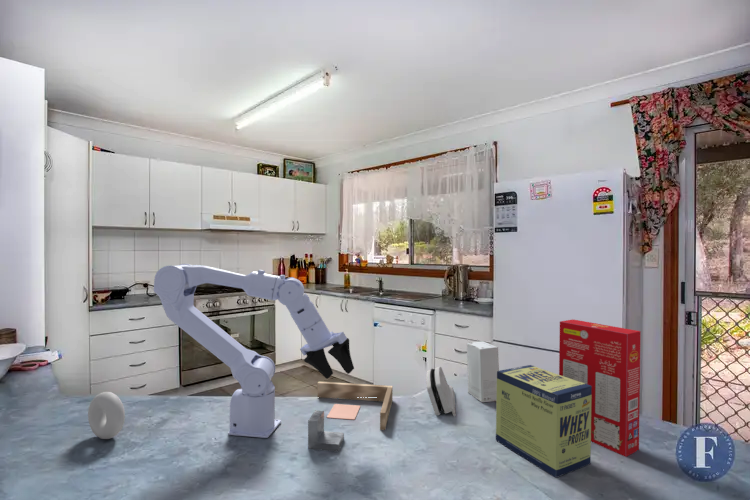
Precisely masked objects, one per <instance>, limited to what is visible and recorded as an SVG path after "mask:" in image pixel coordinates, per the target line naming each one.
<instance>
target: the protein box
mask: <svg viewBox="0 0 750 500" xmlns="http://www.w3.org/2000/svg"><path fill="white" fill-rule="evenodd" d="M591 398H592V386H591V385H588V384H585V383H582V382H579V381H576V380H573V379H570V378H567V377H564V376H561V375H559V373H555V372H553V371H552V372H551V371H548V370H546V369H543V368H540V367H538V366H535V365H532V364H527V365H522V366H517V367H512V368H507V369H506V368H505V369H501V370H500V369H499V371H497V401H495V402H496V404H495V405H496V411H495V412H496V415H495V418H496V419H495V440H496V441H497V442H498V443H499V444H501V445H503V446H504V447H506V448H508V449H509V450H511V451H512V452H514V453H516V454H517V455H519V456H520V457H522V458H523V459H525V460H527V461H528V462H530V463H531V464H533V465H534V466H536V467H538V468H540V469H541V470H543V471H544V472H546V473H548V474H549V475H550V476H552V477H554V478H558V477H561V476H563V475H567V474H569V473H571V472H573V471H576V470H578V469H580V468H583V467H586V466H588V465H591V463H592V462H591V451H592V450H591V447H592V446H591V445H592V443H591Z"/></svg>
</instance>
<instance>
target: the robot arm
mask: <svg viewBox="0 0 750 500" xmlns="http://www.w3.org/2000/svg"><path fill="white" fill-rule="evenodd" d="M153 281H154V282H153V293H155V294H156V295H157V296H158V298H159V300H160V303H161V305H162V308H163V310H164V313H165V315H166V317H167V318H168V319H169V320H170V321H171V322H172V323H173V324H175V325H176V326H178V328H180V329H182V330H183V331H184V332H185V333H186V334H187V335H189V336H190V337H191V338H193V340H195V341H196V342H197V343H198V344H199V345H201V346H203V347H204V348H205V349H206V350H207V351H209V352H210V353H212V355H214V356H215V357H217V358H218V360H220V361H221V362H222V363H224V364H225V366H227V367H229V368H230V371H231V374H232V377H233V379H235V380H236V381H237V382H238V383H239V385H240V388H238V389H236V390H235V391H234V392H233V394H232V395H231V398H230V403H229V430H228V432H227V435H228V436H238V437H250V438H251V437H252V438H262V439H267V438H269V437H270V436H271V435H272V433H273V432H275V430H276V429H277V428H278V427H279V425H280V424H281V423H282V420H281V419H275V418H276V417H275V416H276V415H275V414H276V413H275V412H276V410H275V409H276V408H275V407H276V406H275V404H276V400H275V399H276V395H275V394H276V392H275V390H276V389H275V388H276V387H275V384H274V383H273V381H272V378H273V377H274V375H275V373H276V365H275V361H274V360H273V359H272V358H270V357H268V356H266V355H265V356H264V355H261V354H259V353H258V352H256V351H255V350H251V349H249V348H246V347H245V346H243V345H242V344H241V343H240V342H238V340H236V339H235V338H234V337H232V336H231V335H230V333H229V334H228V332H226V331H225V330H224V329H223V328H221V327H220V326H219V325H218V324H216V323H215V322H214V321H213V320H211V319H210V317H208V316H207V315H205V314H204V313H203V312H202V311H201V310H199V309H198V308H197V307H196V306H195V305H194V304H195V303H194V302H195V299H194V298H195V292H196V289H197V287H198V286H200V285H204V284H212V285H217V286H225V287H229V288H230V287H231V288H236V289H242V290H243V291H244V293H246V296H249V297H254V298H259V299H264V300H269V301H277V300H278V302H279V303H281V304H282V305H283V306H285V307H286V309H287V310H288V312H289V315H290V316H291V319H292V321H294V323H295V326H296V327H297V329H298V330H299V331H300V333H301V335H302V337H303V338H304V340H305V342H306V343H305V344H304V345H303V346H302V347H300V348H299V350H300V352H301V354H302V356H306V357H305V358H304V359H303V361H304V362H305V363H306V364H308V365H310V366H312V367H313V368H314V369H316V370H317V371H318V372H319V373H320V374H321V375H322V376H323V377H324V378H325V379H326V380H327V379H329V378H330V377H331V376H332V375H333V374H334V372H333V369H332V367H331V365H330V363H329V362H328V359H327V356H326V352H325V349H326V348H328V347H331V348H330V349H329V350H328V351H327V353H328V354H329V355H330V356H332V357H333V358H334V359H335V360H336V361H337V362H338V364H339V365H340V366H341V368H342V370H343V371H344V372H345V373H346V374H348V375H349V374H351V373H352V371H353V370H355V367H354V363H353V360H352V356H351V351H350V349H351V348H350V338H348V337H347V336H346V334H345V333H344V331H340V332H334V331H333V330H332V331H330V329H329V328H328V326H327V325H326V323H325V321H324V319H323V317H322V316H321V315H320V313H319V312H318V310H317V307H316V306H315V304H314V303H313V302H312V301H311V299H310V297H309V295H308V294H307V292H305V287H304V284H303V282H302V281H300V279H298V278H295V277H294V276H291V277H287V278H286V275H285V274H280V275H274V274H269V273H266V271H265V270H263V269H258V270H257V271H255V270H253V271H251V272H250V273H248V274H242V273H238V272H233V271H230V270H226V269H222V268H218V267H212V266H209V265H203V264H201V265H200V264H190V263H180V264H178V265H172V264H171V265H165V266H162V267H160V268H159V270H157V271H156V273H155V276H154V280H153Z"/></svg>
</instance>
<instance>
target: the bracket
mask: <svg viewBox="0 0 750 500" xmlns="http://www.w3.org/2000/svg"><path fill="white" fill-rule="evenodd" d="M307 425H308V426H307V449H308V450H314V451H315V450H317V451H326V452H339V451H340V449H341V447H342V444H343V442H344V439H345V432H339V431H327V430H326V431H325V410H314V412H313V413H312V414H311V416H310V417H309V418H308V421H307Z"/></svg>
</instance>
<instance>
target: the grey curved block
mask: <svg viewBox="0 0 750 500" xmlns="http://www.w3.org/2000/svg"><path fill="white" fill-rule="evenodd" d="M425 377H426V378H425V380H426V382H425V383H426V390H427V394H428V396H429V399H430V403H431V405H432V409H433V412H434V415H435V416H441V414H442V413H444V414H448V413H451V414H452V415H453V417H456V416H457V415H456V414H457V412H456V394H455V390H454V387H453V386H452V385H450V384H448V382H447V379H446V375H445V373H444V370H443V367H441V366H437V367H435V368H430V369H428V370H427V371H426V375H425Z"/></svg>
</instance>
